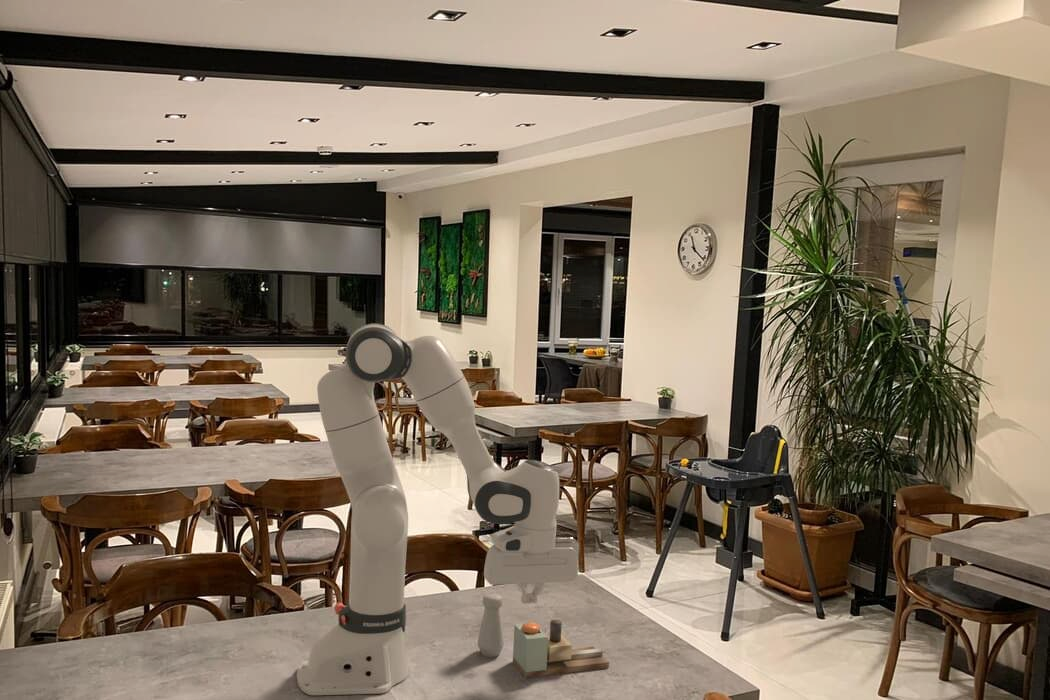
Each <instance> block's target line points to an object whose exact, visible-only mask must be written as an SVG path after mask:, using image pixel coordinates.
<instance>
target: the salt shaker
mask: <svg viewBox="0 0 1050 700" xmlns="http://www.w3.org/2000/svg"><path fill="white" fill-rule="evenodd" d="M503 601H504V600H503V596H501V594H499V593H487V594H485V595H484V596H483V598H482V605H483V606H484V612H483V615H482V619H481V624H480V630H479V634H478V638H477V646H478V648H479V651H480V654H482V655H483V657H488V658H494V657H498V656H499V655H500V653H501V652H502V650H503V648H504V645H505V640H504V632H503V626H502V619H501V613H500V611H501V610H500V608H501V607H502V606H503Z"/></svg>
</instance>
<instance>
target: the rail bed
mask: <svg viewBox="0 0 1050 700" xmlns="http://www.w3.org/2000/svg"><path fill="white" fill-rule="evenodd" d="M603 652H604V651H603V650H602V649H601V648H600V647H599V648H595V647H594V646H588V647H579V648H572V652H571V659H567V660H558V661H550V662H549V661H548V660H547V669H546V670H540V671H532V672H525V671H524V669H523V668H522V667H521V665H520V664H519V663H518V662H517V660H516V659H515V658H514V656H513V655H512V662H513V663H514V665H515V666H516V667H517V669H518V670H519V671H520V672H521V674H522V675H523V676H525V677H524V678H525V679H527V678H528V677H529V678H536V677H544V676H551V675H560V674H561V675H562V674H569V673H577V672H584V671H585V672H586V671H593V670H599V669H608V668H609V667H610V666H609V665H610V661H608V660H607V659H606V658H605V657H604V655H603V654H604V653H603ZM529 678H528V679H529Z"/></svg>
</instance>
